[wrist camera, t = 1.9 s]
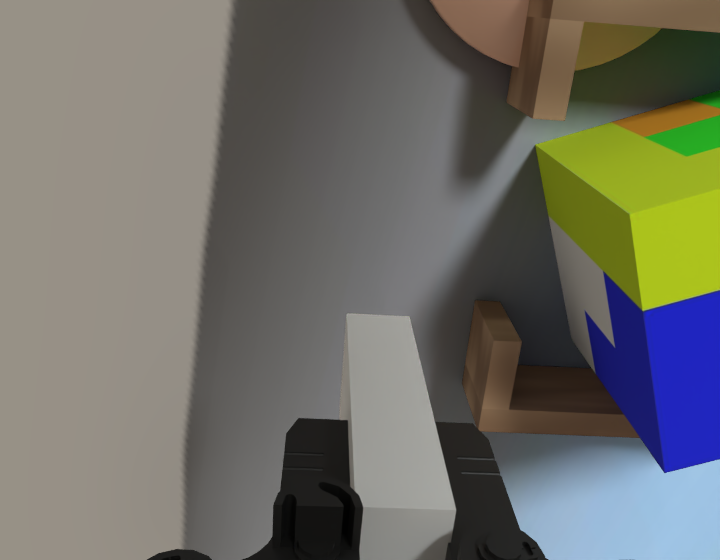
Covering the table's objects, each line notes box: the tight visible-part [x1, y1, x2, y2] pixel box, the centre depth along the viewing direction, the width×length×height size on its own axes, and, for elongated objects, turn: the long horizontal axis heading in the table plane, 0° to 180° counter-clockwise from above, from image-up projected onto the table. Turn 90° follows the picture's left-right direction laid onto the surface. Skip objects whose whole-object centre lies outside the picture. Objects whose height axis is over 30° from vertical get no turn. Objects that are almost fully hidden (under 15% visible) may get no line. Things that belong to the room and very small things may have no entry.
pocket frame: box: [462, 0, 720, 438], centre depth 28 cm, size 18×13×4 cm
